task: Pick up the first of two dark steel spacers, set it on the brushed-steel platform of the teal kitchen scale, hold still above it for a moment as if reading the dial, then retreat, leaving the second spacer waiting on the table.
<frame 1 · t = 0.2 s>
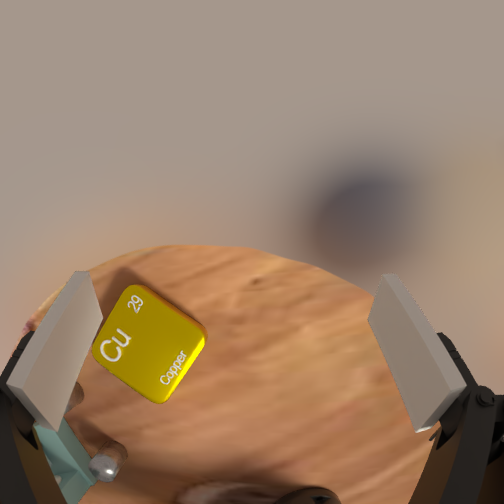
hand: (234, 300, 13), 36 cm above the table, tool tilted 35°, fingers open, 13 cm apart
element tile: (151, 341, 48), on the table
platform: (34, 446, 37), point 6 cm above the table, slide at 0.0 cm, touching scale body
scale body: (60, 450, 43), on the table
spacer b: (115, 451, 44), on the table
spacer a: (72, 391, 45), on the table
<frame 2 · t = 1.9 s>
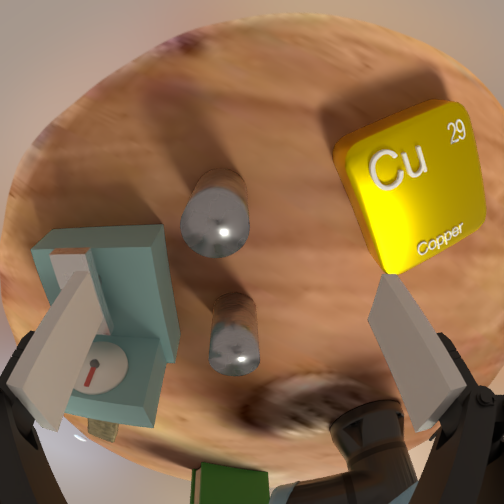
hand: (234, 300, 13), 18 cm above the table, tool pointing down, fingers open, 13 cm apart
element tile: (409, 179, 29), on the table
platform: (85, 288, 26), point 6 cm above the table, slide at 0.0 cm, touching scale body
scale body: (116, 285, 33), on the table
stone block: (107, 408, 47), on the table
spacer b: (234, 309, 36), on the table
spacer a: (221, 193, 29), on the table
hardback book: (230, 471, 62), on the table
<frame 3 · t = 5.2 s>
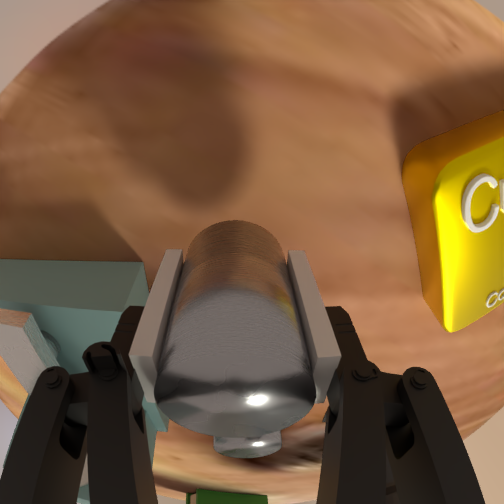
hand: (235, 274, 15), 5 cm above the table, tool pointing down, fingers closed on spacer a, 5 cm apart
element tile: (482, 206, 19), on the table
platform: (38, 357, 15), point 6 cm above the table, slide at 0.0 cm, touching scale body
scale body: (85, 332, 23), on the table
spacer b: (244, 366, 26), on the table
spacer a: (235, 266, 15), point 4 cm above the table, touching gripper
hardback book: (227, 495, 54), on the table
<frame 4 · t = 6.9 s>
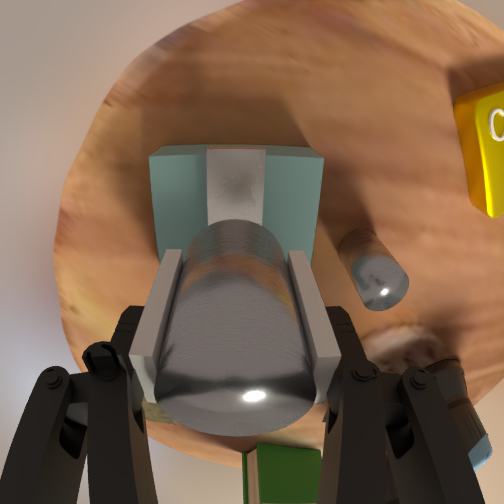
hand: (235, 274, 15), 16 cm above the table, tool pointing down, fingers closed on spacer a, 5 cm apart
element tile: (497, 140, 27), on the table
platform: (235, 202, 23), point 6 cm above the table, slide at 0.0 cm, touching scale body
scale body: (235, 217, 31), on the table
stone block: (161, 384, 45), on the table
spacer b: (359, 248, 33), on the table
spacer a: (235, 264, 15), point 16 cm above the table, touching gripper
hardback book: (282, 452, 61), on the table
when the fingers open (8 cm above the table, at t = 8.6 s): spacer a stays where it is, resting on platform.
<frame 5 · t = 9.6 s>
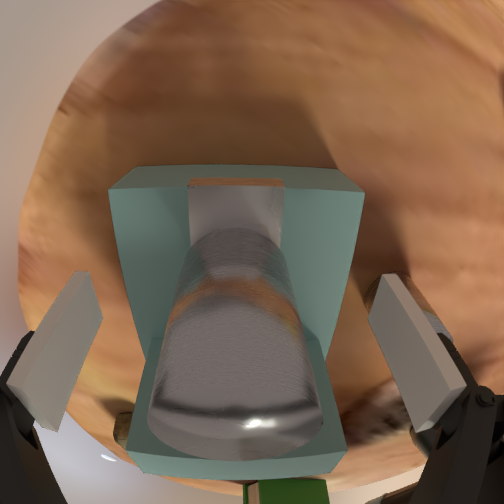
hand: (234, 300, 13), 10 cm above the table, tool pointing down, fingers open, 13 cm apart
platform: (235, 261, 16), point 6 cm above the table, slide at 0.0 cm, touching scale body, spacer a
scale body: (235, 261, 23), on the table
stone block: (150, 428, 38), on the table
spacer b: (389, 294, 26), on the table
spacer a: (234, 276, 14), point 8 cm above the table, touching platform
hardback book: (285, 483, 53), on the table
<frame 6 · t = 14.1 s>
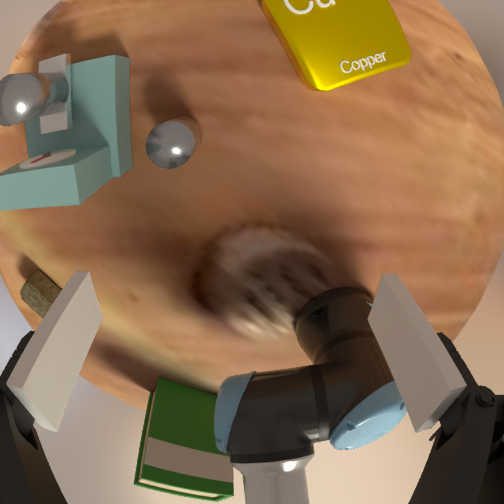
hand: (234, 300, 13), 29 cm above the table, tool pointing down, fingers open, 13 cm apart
element tile: (333, 28, 30), on the table
platform: (58, 93, 26), point 6 cm above the table, slide at 0.0 cm, touching scale body, spacer a
scale body: (84, 118, 34), on the table
stone block: (54, 292, 48), on the table
spacer b: (182, 134, 36), on the table
spacer a: (51, 93, 25), point 8 cm above the table, touching platform
hardback book: (190, 396, 63), on the table
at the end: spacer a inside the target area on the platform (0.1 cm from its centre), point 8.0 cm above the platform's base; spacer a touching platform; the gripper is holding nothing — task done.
